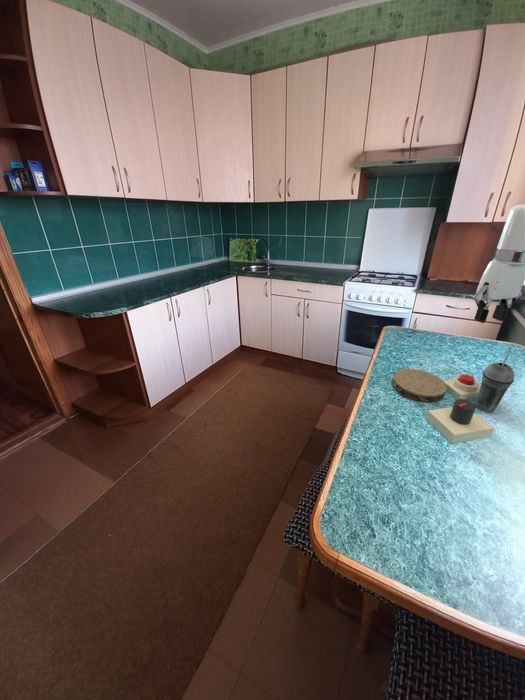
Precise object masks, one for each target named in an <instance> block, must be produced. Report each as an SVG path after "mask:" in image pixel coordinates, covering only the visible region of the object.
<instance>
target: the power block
mask: <svg viewBox="0 0 525 700" xmlns="http://www.w3.org/2000/svg"><path fill="white" fill-rule="evenodd" d="M459 378H460V375H454V377H452V379H448V380H443V381H444V382H445V384H446V386H447V389H446V392H448V393H449V394H450V395H451V396H452V397H454V398H455V399H456V400H457V399H464V400H469V399H476V398H478V395H479V391H480V387H481V384H480V383H479V381H478V380H476V379H475V381H474V383H473V385H465V384H463V383H461V382H459Z"/></svg>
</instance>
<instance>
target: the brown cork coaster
mask: <svg viewBox="0 0 525 700" xmlns="http://www.w3.org/2000/svg"><path fill="white" fill-rule="evenodd" d="M444 381H445V380H443V379H442V378H440V377H439V376H438V375H436V374H434V373H430V372H428V371H425V370H421V369H415V368H404V369H400V370H397V371H396V372H395V373H394V374H393V378H392V383H391V384H392V388H393V390H394V391H395V392H396V393H397V394H398V395H400V396H402V397H403V398H405V399H407V400H411V401H414V402H416V403H417V402H418V403H425V404H434V403H439V402H441V401H442V400H444V398H445V395H446V392H447V391H446V389H447V386H446V384H445V382H444Z"/></svg>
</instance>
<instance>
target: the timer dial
mask: <svg viewBox="0 0 525 700" xmlns="http://www.w3.org/2000/svg"><path fill="white" fill-rule="evenodd" d="M452 407H453V408H452V411H451V414H450V418H451V419H452V420H453V421H455V422H456V423H459V424H463V425H467V424H469V423H470V422H471V419H472V417H473V414H474V413H475V411H476V409H477V407H476V404H475V403H473V402H471V401H470V400H469V399H457V398H456V399H455V401H454V403H453V406H452Z"/></svg>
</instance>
